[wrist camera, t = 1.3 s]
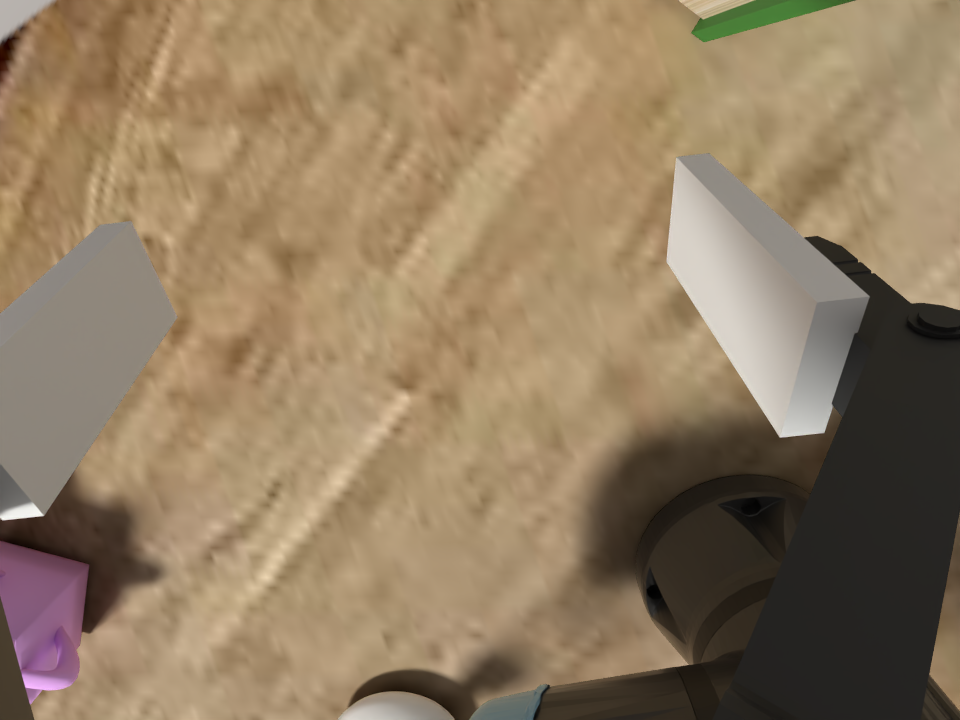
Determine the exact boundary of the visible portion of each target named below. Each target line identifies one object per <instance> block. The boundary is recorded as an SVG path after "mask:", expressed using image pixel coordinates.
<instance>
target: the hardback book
mask: <svg viewBox="0 0 960 720" xmlns="http://www.w3.org/2000/svg"><path fill="white" fill-rule="evenodd" d="M678 1H680V2H681V3H682V4H683V5H685V6H686V7H687V8H689V9H690V10H691V11H693V12H694V13H695V14H697V15H698V16H699V17H701V18H700V20H699V21H698V23H697V25H696V26H695V28H694V29H693V31H692V32H691V33H692V34H693V35H695V36H696V37H697V38H699V39H700V40H701V41H703V42H707V41H710V40H714V39H718V38H721V37H725V36H728V35H732V34H736V33H739V32H743V31H746V30H750V29H754V28H757V27H761V26H765V25H768V24H772V23H775V22H779V21H783V20H786V19H790V18H793V17H797V16H801V15H804V14H808V13H811V12H815V11H819V10H822V9H826V8H829V7H833V6H837V5H840V4H844V3H847V2H851V1H855V0H678Z"/></svg>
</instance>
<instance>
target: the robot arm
mask: <svg viewBox="0 0 960 720" xmlns="http://www.w3.org/2000/svg"><path fill="white" fill-rule="evenodd" d="M667 263H668V265H669V266H670V268H671V269H672V271H673V272H674V274H675V276H676V277H677V279H678V280H679V282H680V283H681V285H682V286H683V288H684V289H685V291H686V293H687V294H688V296H689V297H690V299H691V300H692V302H693V303H694V305H695V307H696V308H697V310H698V311H699V313H700V314H701V316H702V317H703V319H704V321H705V322H706V324H707V325H708V327H709V328H710V330H711V331H712V333H713V334H714V336H715V338H716V339H717V341H718V342H719V344H720V345H721V347H722V348H723V350H724V352H725V353H726V355H727V356H728V358H729V359H730V361H731V362H732V364H733V366H734V367H735V369H736V370H737V372H738V373H739V375H740V376H741V378H742V379H743V381H744V383H745V384H746V386H747V387H748V389H749V390H750V392H751V393H752V395H753V397H754V398H755V400H756V401H757V403H758V404H759V406H760V407H761V409H762V411H763V412H764V414H765V415H766V417H767V418H768V420H769V421H770V423H771V424H772V426H773V428H774V429H775V431H776V432H777V434H778V435H779V437H780V438H781V437H791V436H800V435H810V434H819V433H824V432H825V429H826V426H827V423H828V420H829V417H830V414H831V411H832V408H833V406H834V407H835V409H836V410H837V411H838V412H839V414H840V415H841V416H842V417H843V418H842V420H841V422H840V425H839V427H838V430H837V432H836V434H835V437H834V439H833V441H832V444H831V446H830V449H829V451H828V453H827V456H826V458H825V461H824V463H823V465H822V468H821V470H820V472H819V475H818V477H817V480H816V482H815V484H814V487H813V489H812V492H811V494H809V493H808V492H806V491H805V490H803V489H802V488H800V487H798V486H796V485H794V484H792V483H789V482H787V481H784V480H781V479H777V478H773V477H767V476H759V475H739V476H730V477H724V478H719V479H716V480H712V481H709V482H706V483H703V484H701V485H698V486H696V487H694V488H692V489H690V490H688V491H686V492H684V493H683V494H681V495H679V496H678V497H676V498H675V499H674V500H672V501H671V502H670V503H669V504H667V505H666V506H665V507H664V508H663V509H662V510H661V511H660V512H659V513H658V514H657V515H656V516H655V518H654V519H653V520H652V522H651V523H650V524H649V526H648V527H647V529H646V531H645V533H644V535H643V537H642V539H641V541H640V544H639V547H638V551H637V556H636V578H637V583H638V586H639V589H640V592H641V595H642V598H643V601H644V604H645V607H646V609H647V612H648V614H649V615H650V617H651V619H652V621H653V622H654V624H655V625H656V627H657V628H658V629H659V630H660V631H661V633H662V634H663V635H664V636H665V637H666V638H667V640H668V641H669V642H670V643H671V644H672V645H673V647H674V648H675V649H676V650H677V651H678V652H679V654H680V655H681V656H682V657H683V658H684V659H685V661H686V662H687V663H688V664H689V665H687V666H680V667H672V668H665V669H659V670H653V671H647V672H640V673H634V674H628V675H622V676H615V677H609V678H603V679H596V680H590V681H584V682H578V683H571V684H565V685H559V686H553V687H550V685H547V684H544V685H540V686H538V687H537V689H536V690H532V691H527V692H522V693H518V694H513V695H509V696H504V697H500V698H495V699H492V700H490V701H487V702H486V703H484V704H483V705H481V706H480V707H479V708H478V709H477V710H476V711H475V712H474V713H473V715H472V716H471V718H470V719H469V720H960V711H959V710H958V709H957V707H956V706H955V705H954V704H953V703H952V701H951V700H950V699H949V698H948V697H947V695H946V694H945V693H944V692H943V691H942V689H941V688H940V687H939V686H938V685H937V683H936V682H935V681H934V680H933V679H932V677H931V676H930V675H929V672H930V667H931V661H932V656H933V651H934V645H935V640H936V635H937V629H938V624H939V619H940V613H941V608H942V603H943V597H944V592H945V587H946V581H947V576H948V571H949V565H950V560H951V555H952V549H953V544H954V539H955V533H956V528H957V523H958V517H959V512H960V310H956V309H953V308H949V307H946V306H942V305H934V304H926V303H915V304H911V303H910V302H909V301H907V300H906V299H905V298H904V297H903V296H901V295H900V294H899V293H898V292H896V291H895V290H894V289H893V288H892V287H890V286H889V285H888V284H887V283H886V282H884V281H883V280H882V279H881V278H880V277H878V276H877V275H876V274H875V273H873V274H871V270H870V269H869V268H867V267H866V266H865V265H864V264H863V263H861V262H859V263H858V259H857V258H855V257H854V256H853V255H852V254H851V253H849V252H848V251H847V250H846V249H844V248H843V247H842V246H840V245H837V244H835V243H833V242H830V241H828V240H826V239H823V238H821V237H818V236H814V237H805V238H803V237H802V236H801V235H800V234H799V233H798V232H797V231H796V230H795V229H793V228H792V227H791V226H790V225H789V224H788V223H787V222H786V221H784V220H783V219H782V218H781V217H780V216H779V215H778V214H777V213H775V212H774V211H773V210H772V209H771V208H770V207H769V206H768V205H766V204H765V203H764V202H763V201H762V200H761V199H760V198H759V197H757V196H756V195H755V194H754V193H753V192H752V191H751V190H750V189H749V188H747V187H746V186H745V185H744V184H743V183H742V182H741V181H740V180H738V179H737V178H736V177H735V176H734V175H733V174H732V173H731V172H729V171H728V170H727V169H726V168H725V167H724V166H723V165H722V164H720V163H719V162H718V161H717V160H716V159H715V158H714V157H713V156H711V155H710V154H709V153H706V154H698V155H689V156H681V157H676V166H675V177H674V187H673V198H672V209H671V219H670V230H669V241H668V251H667ZM176 319H177V315H176V313H175V311H174V309H173V307H172V305H171V303H170V301H169V299H168V297H167V294H166V292H165V290H164V288H163V286H162V284H161V282H160V280H159V278H158V276H157V274H156V272H155V270H154V267H153V265H152V263H151V261H150V259H149V257H148V255H147V253H146V251H145V249H144V247H143V245H142V243H141V240H140V238H139V236H138V234H137V232H136V230H135V228H134V226H133V224H132V222H131V221H129V222H121V223H112V224H104V225H100V226H98V227H97V228H96V229H95V230H94V231H93V232H92V233H91V234H89V235H88V236H87V237H86V238H85V239H84V240H83V241H81V242H80V243H79V244H78V245H77V246H76V247H75V248H74V249H72V250H71V251H70V252H69V253H68V254H67V255H66V256H65V257H63V258H62V259H61V260H60V261H59V262H58V263H57V264H56V265H54V266H53V267H52V268H51V269H50V270H49V271H48V272H47V273H45V274H44V275H43V276H42V277H41V278H40V279H39V280H38V281H36V282H35V283H34V284H33V285H32V286H31V287H30V288H29V289H27V290H26V291H25V292H24V293H23V294H22V295H21V296H20V297H18V298H17V299H16V300H15V301H14V302H13V303H12V304H11V305H9V306H8V307H7V308H6V309H5V310H4V311H3V312H2V313H0V518H1V519H2V520H10V519H19V518H29V517H38V516H44V515H45V514H46V512H47V511H48V509H49V508H50V506H51V505H52V503H53V502H54V500H55V499H56V497H57V496H58V494H59V493H60V491H61V490H62V488H63V487H64V485H65V484H66V482H67V481H68V479H69V478H70V477H71V475H72V474H73V472H74V471H75V469H76V468H77V466H78V465H79V463H80V462H81V460H82V459H83V457H84V456H85V454H86V453H87V451H88V450H89V448H90V447H91V445H92V444H93V442H94V441H95V439H96V438H97V436H98V435H99V433H100V432H101V430H102V429H103V427H104V426H105V424H106V423H107V421H108V420H109V418H110V417H111V415H112V414H113V412H114V411H115V410H116V408H117V407H118V405H119V404H120V402H121V401H122V399H123V398H124V396H125V395H126V393H127V392H128V390H129V389H130V387H131V386H132V384H133V383H134V381H135V380H136V378H137V377H138V375H139V374H140V372H141V371H142V369H143V368H144V366H145V365H146V363H147V362H148V360H149V359H150V357H151V356H152V354H153V353H154V351H155V350H156V348H157V347H158V345H159V344H160V342H161V341H162V340H163V338H164V337H165V335H166V334H167V332H168V331H169V329H170V328H171V326H172V325H173V323H174V322H175V320H176ZM0 720H34V717H33V714H32V710H31V706H30V703H29V699H28V695H27V692H26V688H25V684H24V681H23V677H22V673H21V670H20V666H19V663H18V659H17V655H16V652H15V648H14V644H13V641H12V637H11V633H10V630H9V626H8V622H7V619H6V615H5V612H4V608H3V604H2V601H1V597H0Z"/></svg>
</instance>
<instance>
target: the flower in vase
mask: <svg viewBox="0 0 960 720" xmlns="http://www.w3.org/2000/svg"><path fill="white" fill-rule="evenodd" d="M338 720H455V719H454V718H453V716H452V715H451V714H450V713H449V712H448V711H447V710H446V709H445V708H443V707H442V706H441V705H439V704H438V703H436V702H435V701H433V700H431V699H429V698H426V697H424V696H421V695H417V694H414V693H409V692H400V691H390V692H381V693H376V694H372V695H369V696H367V697H364V698H362V699H360V700H359V701H357V702H356V703H354V704H353V705H351V706H350V707H349V708H348V709H347V710H345V711H344V712H343V713H342V715H341V716H340V717H339V718H338Z"/></svg>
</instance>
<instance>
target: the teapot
mask: <svg viewBox="0 0 960 720" xmlns="http://www.w3.org/2000/svg"><path fill="white" fill-rule="evenodd" d="M88 572H89V564H86V563H82V562H79V561H75V560H71V559H67V558H64V557H60V556H56V555H53V554H49V553H45V552H41V551H38V550H34V549H30V548H26V547H23V546H19V545H15V544H11V543H8V542H4V541H0V597H1V601H2V604H3V608H4V612H5V615H6V619H7V622H8V626H9V630H10V633H11V637H12V641H13V644H14V648H15V652H16V655H17V659H18V663H19V666H20V670H21V673H22V677H23V681H24V684H25V688H26V692H27V695H28V699H29V703H30V704H31V703H32V702H33V701H34V700H35V698H36V697H37V696H38V695H39V694H40V692H41V691H42V690H58V689H63V688H66V687H68V686H70V685H71V684H73V683H74V681H75V680H76V679H77V677H78V673H79V668H80V664H79V657H78V653H77V651H76V649H77V648H78V647H79V646H80V641H81V633H82V624H83V615H84V607H85V598H86V589H87V581H88Z"/></svg>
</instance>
